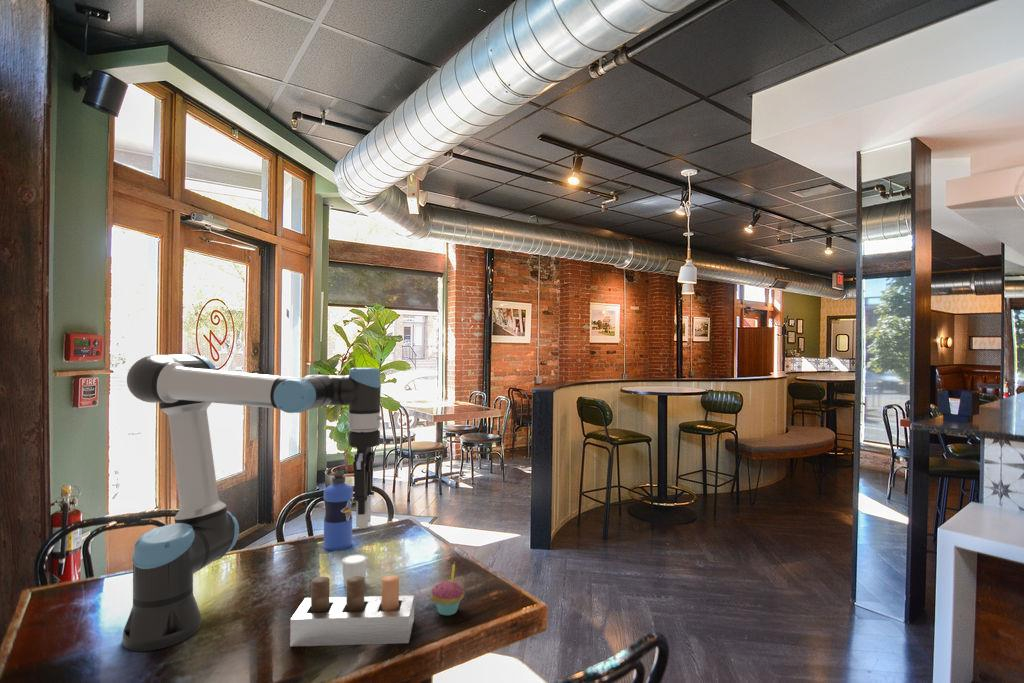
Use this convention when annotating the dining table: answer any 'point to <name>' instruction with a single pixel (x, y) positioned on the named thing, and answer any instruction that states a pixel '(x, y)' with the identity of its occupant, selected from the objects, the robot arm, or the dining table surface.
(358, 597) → the plug mid
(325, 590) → the plug near
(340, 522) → the water bottle
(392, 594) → the plug terracotta
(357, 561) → the white cup
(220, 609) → the dining table surface
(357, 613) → the jig
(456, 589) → the cupcake
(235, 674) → the dining table surface
